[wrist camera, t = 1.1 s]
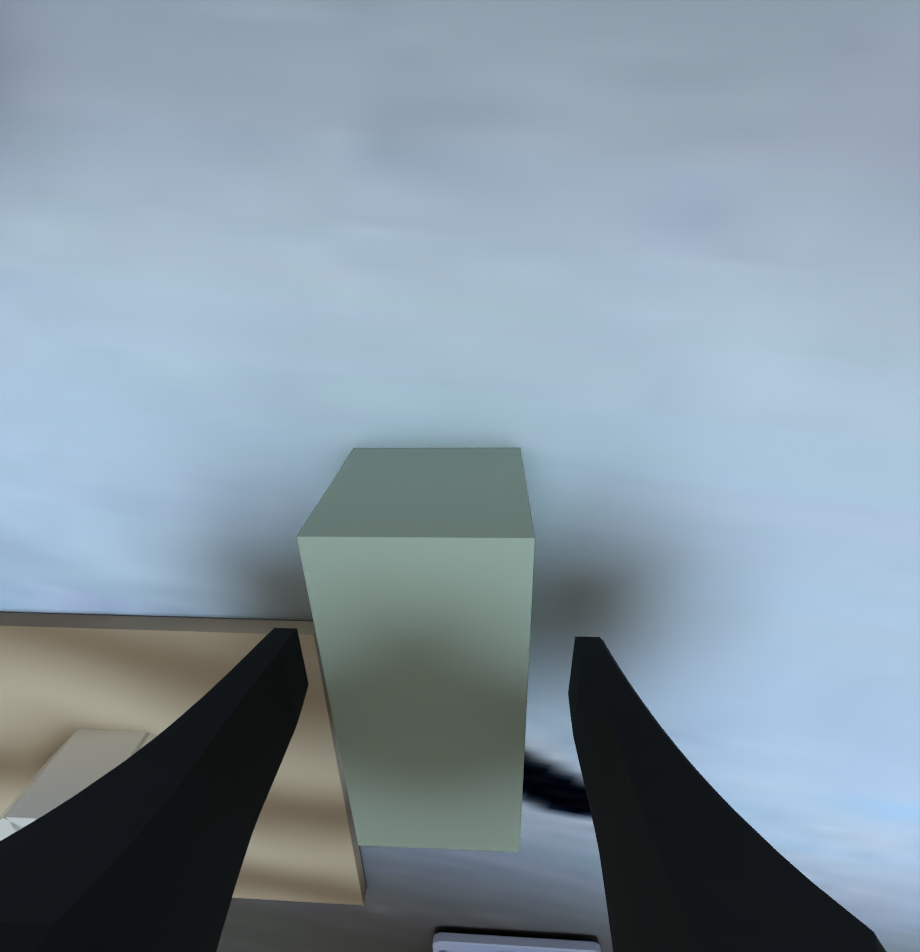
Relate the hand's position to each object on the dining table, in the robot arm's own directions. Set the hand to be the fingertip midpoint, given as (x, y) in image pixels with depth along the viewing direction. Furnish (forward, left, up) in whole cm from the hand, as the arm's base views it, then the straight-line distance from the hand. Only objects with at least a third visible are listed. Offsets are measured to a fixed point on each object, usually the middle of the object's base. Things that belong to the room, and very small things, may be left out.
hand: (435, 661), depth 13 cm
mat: (-9, +12, -3) cm, 15 cm away
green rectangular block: (0, 0, -3) cm, 3 cm away
